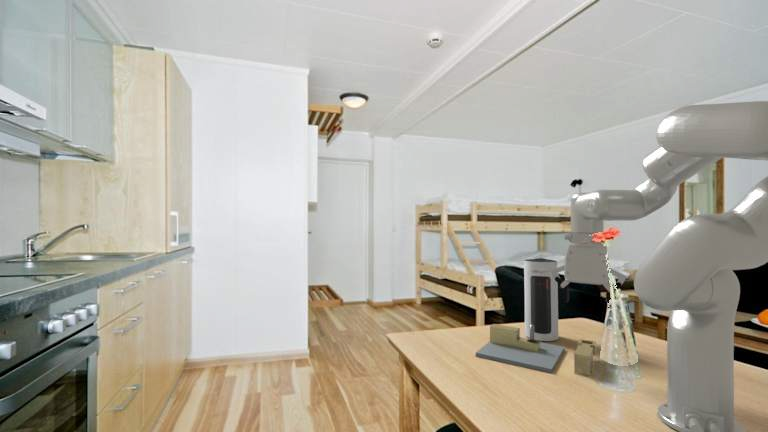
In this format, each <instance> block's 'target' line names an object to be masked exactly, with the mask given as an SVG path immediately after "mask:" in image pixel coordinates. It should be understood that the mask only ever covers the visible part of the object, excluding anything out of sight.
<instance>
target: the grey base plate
mask: <svg viewBox="0 0 768 432" xmlns="http://www.w3.org/2000/svg"><path fill="white" fill-rule="evenodd" d="M564 352H565V346H561V345H556V344H551V343H547V342H546V343H545V342H541V349H540V350H539V352H533V351H528V350H523V349H519V348H514V347H509V346H504V345H499V344H494V343H490V340H489V341H488V342H486V343H485V344H484V345H483V346H482V347H480V348H479V349H478V350H477V351H476V352H475V357H478V358H483V359H486V360H492V361H497V362H501V363H504V364H505V363H506V364H509V365H513V366H518V367H523V368H527V369H532V370H537V371H539V372H540V371H541V372H545V373H549V374H552V373H553V371H554V370H555V368H556V366H557V364H558V363H559V361H560V359H561V357H562V355H563V353H564Z"/></svg>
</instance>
